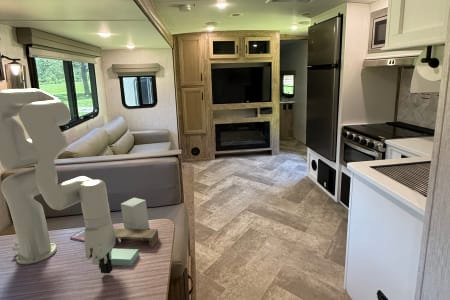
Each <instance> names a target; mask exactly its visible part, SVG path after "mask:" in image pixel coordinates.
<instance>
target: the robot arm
mask: <svg viewBox="0 0 450 300" xmlns="http://www.w3.org/2000/svg"><path fill="white" fill-rule="evenodd" d="M71 116H72V115H71V111H70V108H69V107H68V106H67V104H66V103H65V102H64V101H62V100H61V99H59V97H58V98H57V97H56V96H53V95H51V94H50V93H48V92H46V91H44V90H42V89H38V88H20V89H19V88H18V89H13V88H12V89H2V90H1V89H0V164H1V166H2V168H4V169H5V170H7V171H17V170H21V169H24V168H27V167H28V168H29V167H32V166H34V167H33V168H30V169H26V170H23V171H19V172H17V173H13V174H11V175H9V176H8V175H7V176H6V178H4V179H3V180H2V181H1V183H0V190H1V193H2V195H3V197H4V199H5V201H6V203H7V206H8V208H9V212H10V215H11V219H12V222H13V227H14V232H15V236H16V239H17V241H16V242H15V243H14V246H13V247H12V248H11V249H12V251H14V252H15V251H17V253H18V254H17V256H16V263H18V264H21V265H31V264H36V263H39V262H42V261H44V260H46V259H48V258H49V257H51V256H53V254H55V253H56V251H57V249H58V248H57V244H56V243H54V242H51V238H50V233H49V229H48V224H47V220H46V216H45V210H44V206H43V205H42V204H41V203H40V201H37V200H36V199H35V198H34V197H36V196H38V195H40V194H41V196H42V198H43V200H44V201H45V203H46V204H47V205H48V207H49V208H50V209H53V210H55V211H61V210H64V209H68V208H70V207H71V206H73V205H76V204H79V203H80V205H81V211H82V216H83V222H84V227H85V228H84V230H85V232H84V241H85V242H84V249H85V256H86V259H87V260H90V259H91V262H92V263H91V264H92V265H93V266H97V265H98V266H99V271H100V273H101V274H111V272H112V271H113V265H112V263H111V260H110V259H111V257H112V256H111V251H112V249H113V248H115V245H116V243H117V239H116V237H115V232H114V228H115V227H114V224H113V221H112V216H111V210H110V204H109V198H108V197H109V196H108V191H107V187H106V186H107V184H106V183H105V181H104V180H102V179H93V178H91V177H88V176H86V175H79V176H77V177H73V178H71V179H68V180H65V181H62V182H60V183H59V182H58V180H59V179H58V173H57V167H56V163H55V159H57V157H58V156H59V155H61V154H63V152H65V151H66V150H67V148H68V146H69V143H68V141H67V139H66V138H65V136H64V134H63V132H62V130H61V128H60V126H65V125H67V124H68V123H70V121H71ZM14 117H19V120H20V122H21V123H20V122H19V121H18V120H17V119H16V118H14ZM22 125H23V126H22ZM25 132H26V133H27V135H28V137H29V138H27V137H26V134H25Z"/></svg>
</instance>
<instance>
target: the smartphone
mask: <svg viewBox="0 0 450 300" xmlns="http://www.w3.org/2000/svg"><path fill="white" fill-rule="evenodd" d="M84 232H85V229H82V230H79V232H76V233H75V234H73V235H71V236H70V237H69V239H70V240H72V241H76V242H77V241H78V242H82V243H85V241H84Z"/></svg>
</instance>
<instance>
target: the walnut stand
mask: <svg viewBox="0 0 450 300" xmlns="http://www.w3.org/2000/svg"><path fill="white" fill-rule="evenodd" d="M114 232H115V237H116V240H117V239H119V240H120V241H129V240H141V241H142V242H148V245H149V248H150V249H153V248H154V247H155V245H157V242H158V241H159V240H160V239H159V230H158V229H157V228H155V229H151V228H148V229H124V228H115V227H114Z"/></svg>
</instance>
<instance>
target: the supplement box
mask: <svg viewBox="0 0 450 300" xmlns="http://www.w3.org/2000/svg"><path fill="white" fill-rule="evenodd" d="M120 208H121V215H122V220H123V222H122V223H123V229H150V225H149V224H150V222H149V215H148V209H147V200H146V199H142V198H138V197H132V198H130V199H128V200H126V201H123V202H122V203H120Z"/></svg>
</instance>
